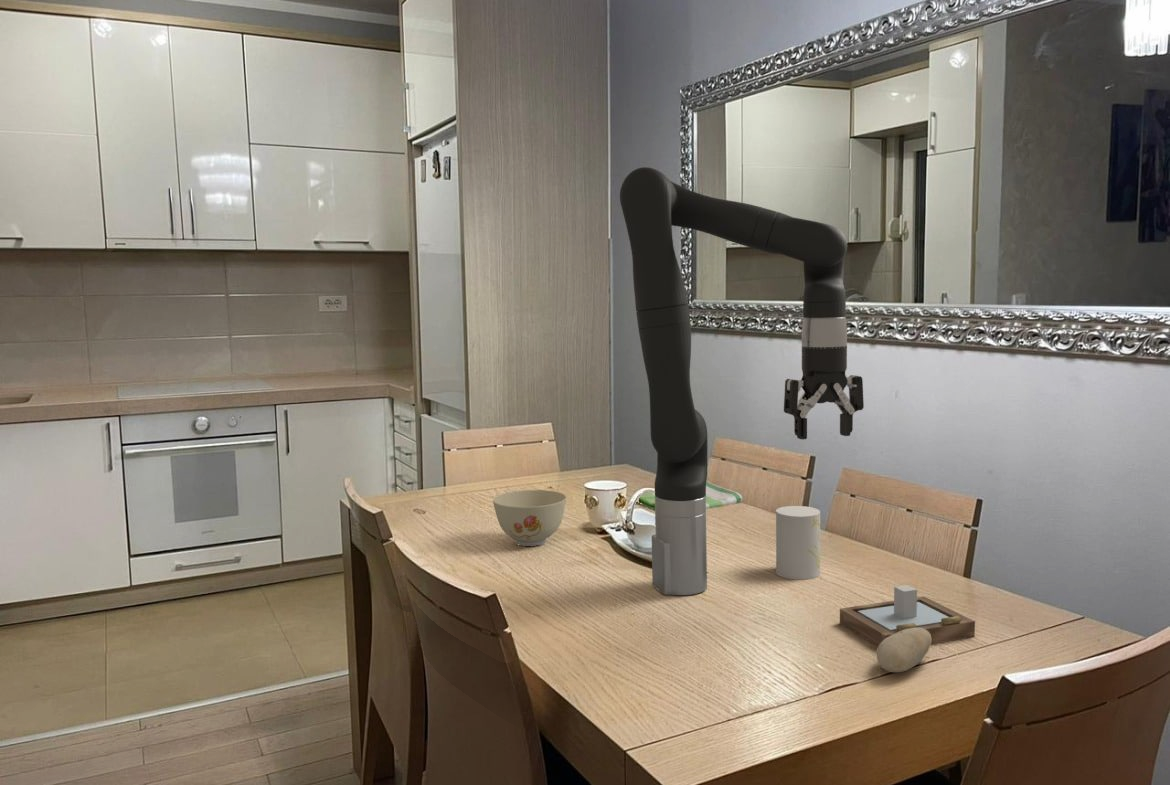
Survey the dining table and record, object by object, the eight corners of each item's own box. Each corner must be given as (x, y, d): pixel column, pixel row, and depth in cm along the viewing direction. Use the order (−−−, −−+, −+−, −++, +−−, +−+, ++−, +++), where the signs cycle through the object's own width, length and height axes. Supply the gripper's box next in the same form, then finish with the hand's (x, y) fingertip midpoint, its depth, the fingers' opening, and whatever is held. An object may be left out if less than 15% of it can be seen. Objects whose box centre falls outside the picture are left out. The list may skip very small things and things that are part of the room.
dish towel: (744, 504, 225) (744, 491, 225) (669, 517, 214) (668, 503, 214) (704, 492, 240) (704, 479, 240) (632, 503, 230) (631, 490, 229)
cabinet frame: (885, 651, 132) (885, 629, 131) (839, 622, 143) (839, 602, 143) (974, 636, 136) (975, 615, 136) (923, 610, 148) (924, 590, 147)
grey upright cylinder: (821, 580, 164) (821, 517, 163) (776, 578, 166) (776, 516, 164) (818, 566, 172) (818, 506, 171) (776, 565, 174) (775, 505, 172)
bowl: (481, 549, 190) (479, 504, 188) (514, 530, 204) (513, 488, 203) (549, 556, 183) (547, 509, 182) (578, 536, 198) (577, 492, 197)
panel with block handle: (890, 638, 134) (891, 601, 133) (857, 619, 142) (857, 584, 141) (954, 628, 137) (954, 592, 137) (918, 610, 145) (919, 575, 145)
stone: (864, 657, 123) (886, 608, 133) (882, 695, 124) (903, 644, 133) (903, 654, 120) (924, 603, 129) (922, 693, 121) (941, 640, 130)
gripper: (798, 346, 146) (798, 443, 148) (873, 343, 150) (872, 437, 152) (776, 344, 154) (776, 437, 155) (847, 341, 158) (847, 431, 159)
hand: (823, 437), depth 154 cm, fingers open, 8 cm apart
